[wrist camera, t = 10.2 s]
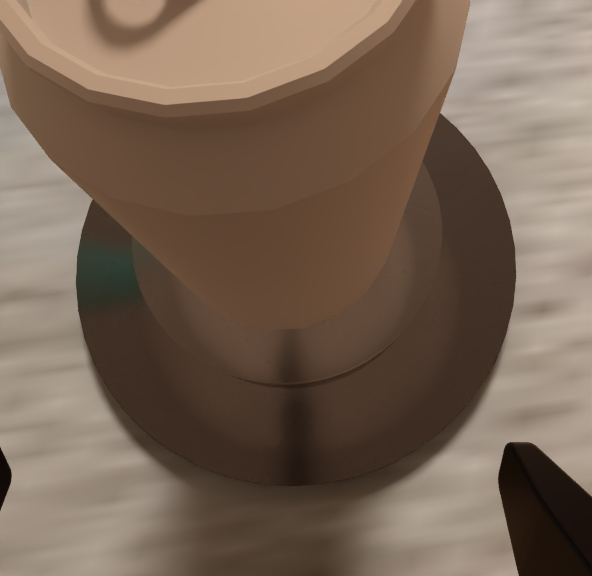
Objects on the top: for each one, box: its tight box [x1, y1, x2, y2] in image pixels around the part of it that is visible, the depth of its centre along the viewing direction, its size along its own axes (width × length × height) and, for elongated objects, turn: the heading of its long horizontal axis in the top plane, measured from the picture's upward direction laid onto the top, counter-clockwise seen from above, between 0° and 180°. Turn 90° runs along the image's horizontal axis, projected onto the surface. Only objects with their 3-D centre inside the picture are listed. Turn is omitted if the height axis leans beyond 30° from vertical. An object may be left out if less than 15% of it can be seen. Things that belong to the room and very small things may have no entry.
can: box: [0, 0, 470, 331], centre depth 12 cm, size 8×8×12 cm
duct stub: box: [76, 114, 516, 486], centre depth 20 cm, size 18×18×4 cm
